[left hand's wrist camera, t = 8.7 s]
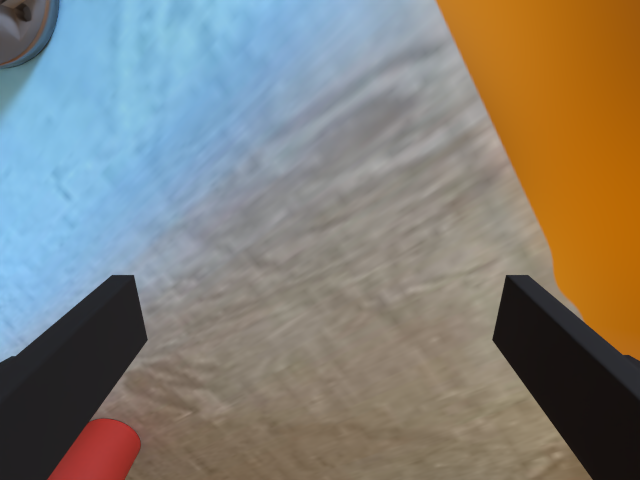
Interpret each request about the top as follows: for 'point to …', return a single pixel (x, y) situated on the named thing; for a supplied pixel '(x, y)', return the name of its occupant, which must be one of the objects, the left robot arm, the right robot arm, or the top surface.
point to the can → (99, 453)
